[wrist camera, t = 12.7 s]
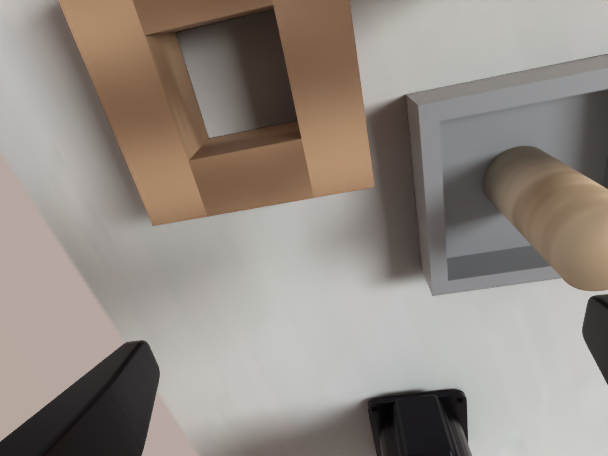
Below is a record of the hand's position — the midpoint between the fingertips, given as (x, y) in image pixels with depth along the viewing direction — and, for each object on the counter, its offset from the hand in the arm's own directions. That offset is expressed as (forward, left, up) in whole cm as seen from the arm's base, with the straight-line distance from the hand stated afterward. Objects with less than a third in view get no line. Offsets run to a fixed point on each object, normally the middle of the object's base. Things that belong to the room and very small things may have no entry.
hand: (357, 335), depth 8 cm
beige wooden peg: (-3, -8, -13) cm, 15 cm away
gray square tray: (-3, -8, -13) cm, 16 cm away
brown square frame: (+4, +4, -13) cm, 14 cm away
